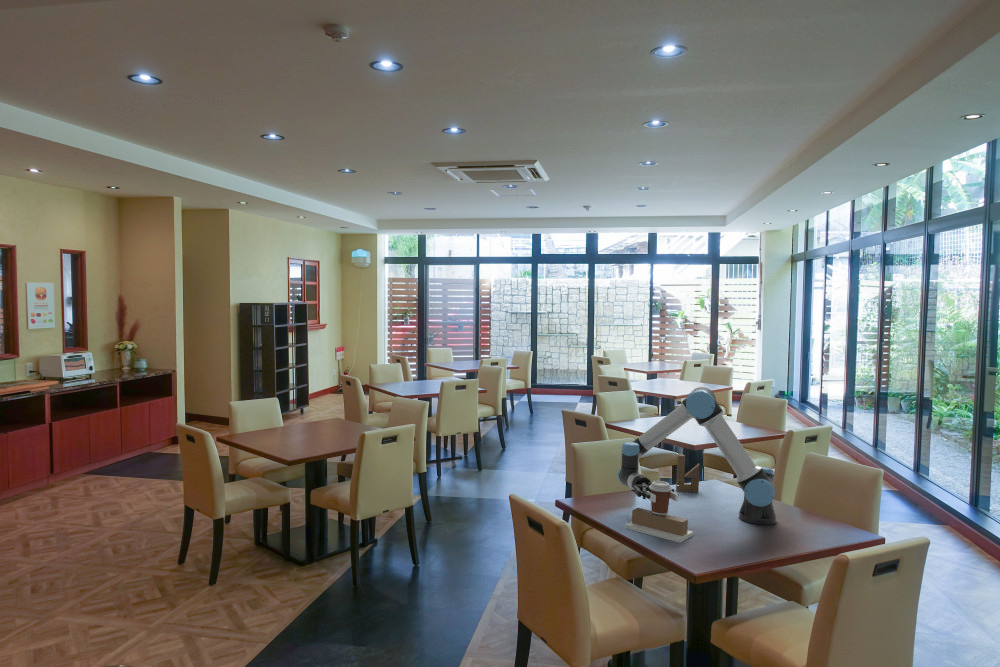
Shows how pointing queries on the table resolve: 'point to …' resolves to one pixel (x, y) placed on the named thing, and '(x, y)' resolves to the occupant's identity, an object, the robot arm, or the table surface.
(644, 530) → the stand
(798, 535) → the table surface
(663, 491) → the coffee cup
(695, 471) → the brown wooden angular stand
